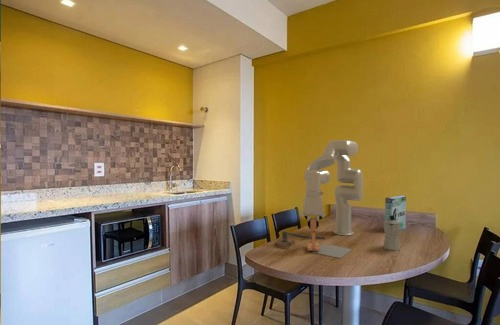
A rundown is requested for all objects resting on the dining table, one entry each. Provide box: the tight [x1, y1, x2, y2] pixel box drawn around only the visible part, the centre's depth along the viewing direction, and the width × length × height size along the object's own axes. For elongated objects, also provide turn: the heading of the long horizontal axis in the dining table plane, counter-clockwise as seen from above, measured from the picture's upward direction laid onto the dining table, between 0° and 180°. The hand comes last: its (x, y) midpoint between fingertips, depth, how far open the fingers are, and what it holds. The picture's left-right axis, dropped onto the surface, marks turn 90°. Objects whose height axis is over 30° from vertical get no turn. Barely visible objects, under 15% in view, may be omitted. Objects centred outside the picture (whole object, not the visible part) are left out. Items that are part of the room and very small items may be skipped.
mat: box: [311, 243, 353, 260], centre depth 152 cm, size 17×15×1 cm
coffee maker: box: [382, 215, 401, 252], centre depth 158 cm, size 15×9×18 cm, turn 151°
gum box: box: [384, 195, 407, 231], centre depth 198 cm, size 20×5×23 cm, turn 126°
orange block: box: [306, 217, 320, 252], centre depth 154 cm, size 10×6×15 cm, turn 172°
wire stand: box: [274, 230, 326, 249], centre depth 157 cm, size 10×26×8 cm, turn 52°
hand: (313, 227), depth 154 cm, fingers closed on orange block, 3 cm apart
